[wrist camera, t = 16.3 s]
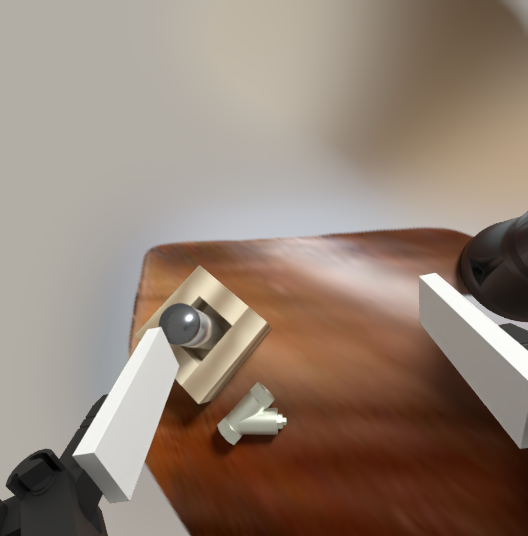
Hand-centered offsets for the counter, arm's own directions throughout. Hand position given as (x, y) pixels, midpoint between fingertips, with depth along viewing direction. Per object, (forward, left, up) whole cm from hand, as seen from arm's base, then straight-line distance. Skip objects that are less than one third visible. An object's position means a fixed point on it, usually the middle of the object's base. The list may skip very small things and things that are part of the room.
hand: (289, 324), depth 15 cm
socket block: (+14, +7, -32) cm, 35 cm away
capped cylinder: (+14, +7, -31) cm, 34 cm away
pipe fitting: (0, +11, -32) cm, 34 cm away
